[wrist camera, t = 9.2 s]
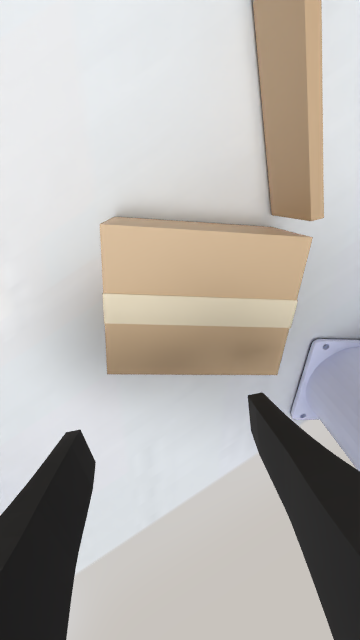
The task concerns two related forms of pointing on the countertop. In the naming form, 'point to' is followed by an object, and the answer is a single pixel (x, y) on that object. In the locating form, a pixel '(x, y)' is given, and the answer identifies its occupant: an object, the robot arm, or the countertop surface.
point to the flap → (292, 104)
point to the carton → (198, 296)
